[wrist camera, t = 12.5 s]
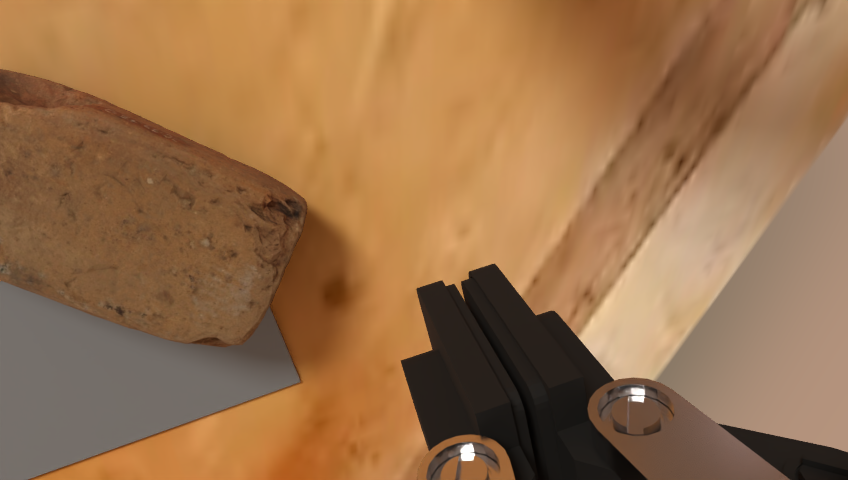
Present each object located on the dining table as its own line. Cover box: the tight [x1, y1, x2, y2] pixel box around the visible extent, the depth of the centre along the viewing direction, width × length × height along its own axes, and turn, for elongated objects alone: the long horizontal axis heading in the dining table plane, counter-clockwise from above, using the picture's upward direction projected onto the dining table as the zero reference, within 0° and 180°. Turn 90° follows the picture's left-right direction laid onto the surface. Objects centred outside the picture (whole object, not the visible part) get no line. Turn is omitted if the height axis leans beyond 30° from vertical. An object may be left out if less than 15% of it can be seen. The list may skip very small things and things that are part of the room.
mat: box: [0, 281, 300, 480], centre depth 41 cm, size 22×14×1 cm, turn 105°
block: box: [0, 69, 307, 348], centre depth 34 cm, size 11×8×20 cm
